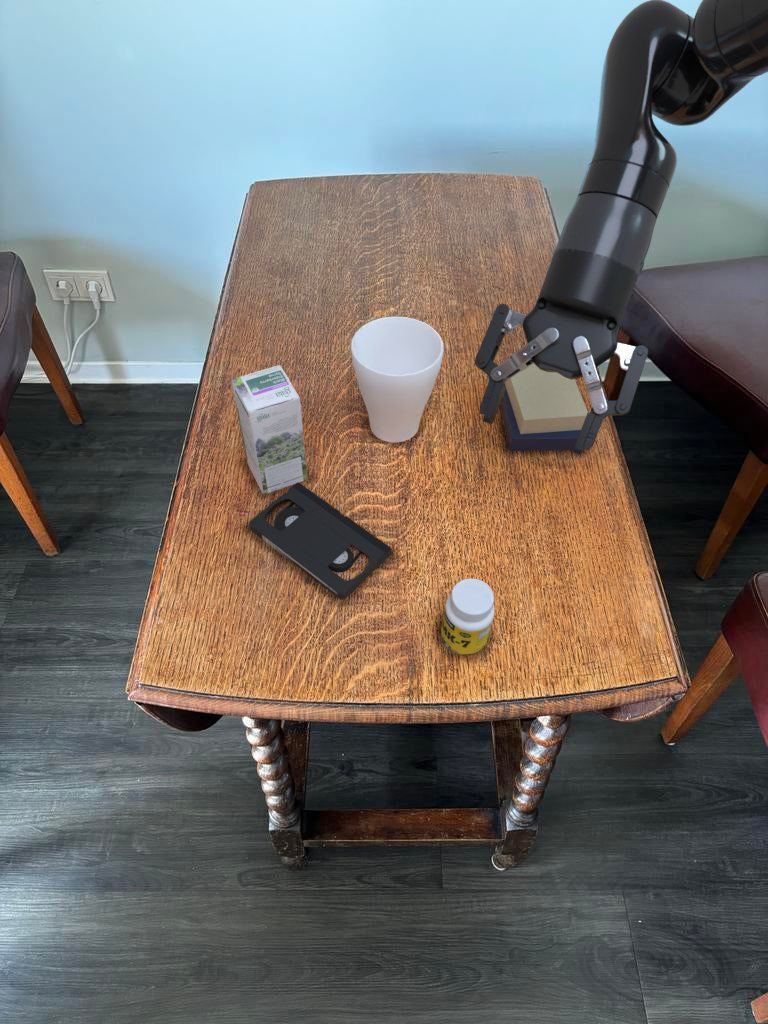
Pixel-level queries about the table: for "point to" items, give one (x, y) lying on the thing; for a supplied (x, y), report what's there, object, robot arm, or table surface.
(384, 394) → the cup
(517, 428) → the book stack
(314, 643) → the table surface
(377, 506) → the table surface
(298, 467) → the syrup box
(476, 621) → the supplement bottle
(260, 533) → the vhs tape
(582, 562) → the table surface
